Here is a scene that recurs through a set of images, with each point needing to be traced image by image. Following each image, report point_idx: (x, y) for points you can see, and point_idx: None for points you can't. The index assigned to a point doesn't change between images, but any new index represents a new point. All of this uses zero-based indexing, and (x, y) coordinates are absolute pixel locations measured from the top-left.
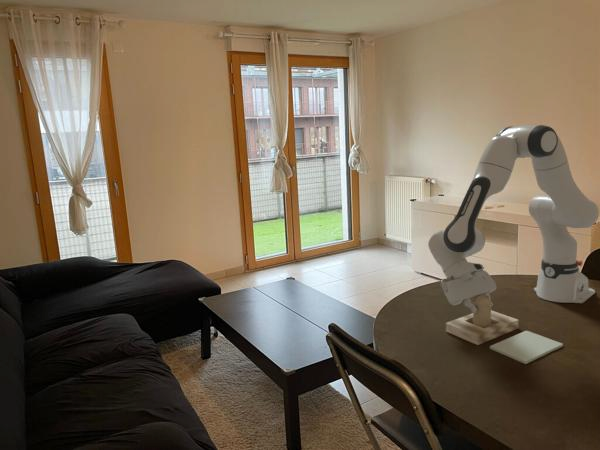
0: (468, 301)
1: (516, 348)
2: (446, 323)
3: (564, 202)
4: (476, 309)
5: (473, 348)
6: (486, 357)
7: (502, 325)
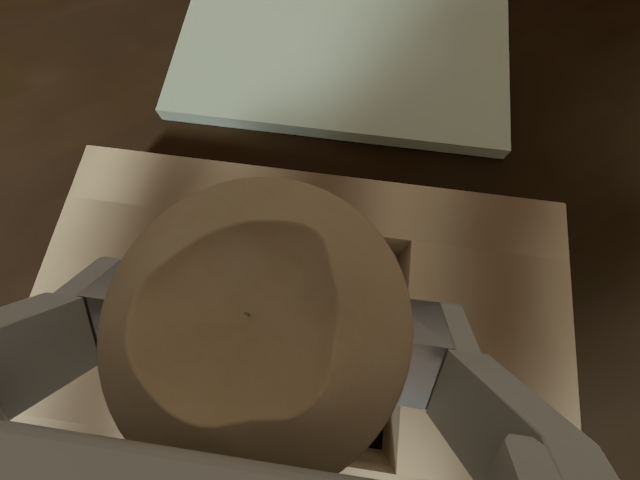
0: (595, 464)
1: (419, 48)
2: None
3: None
4: (449, 308)
5: (580, 223)
6: (602, 122)
7: (262, 173)
